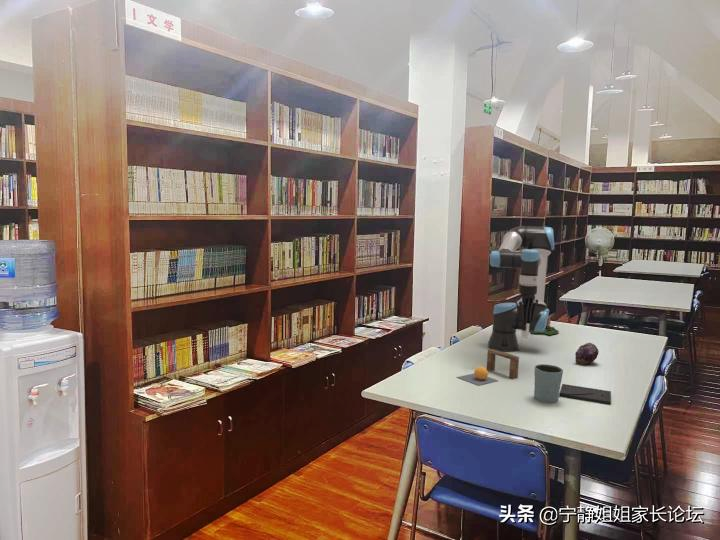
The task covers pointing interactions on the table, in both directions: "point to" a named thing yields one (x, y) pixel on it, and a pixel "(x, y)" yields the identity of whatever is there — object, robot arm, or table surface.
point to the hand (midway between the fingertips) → (524, 337)
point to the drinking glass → (547, 383)
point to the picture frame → (585, 394)
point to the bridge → (513, 359)
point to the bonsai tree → (548, 329)
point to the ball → (481, 373)
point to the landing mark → (474, 380)
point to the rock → (586, 354)
